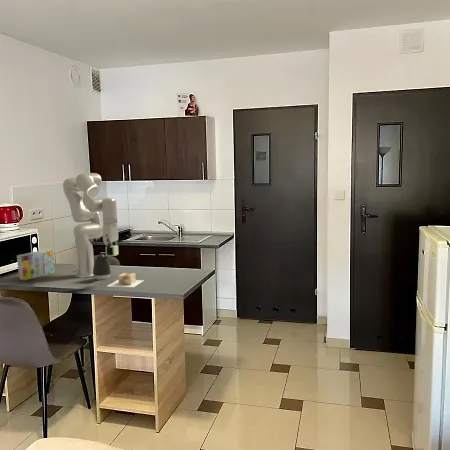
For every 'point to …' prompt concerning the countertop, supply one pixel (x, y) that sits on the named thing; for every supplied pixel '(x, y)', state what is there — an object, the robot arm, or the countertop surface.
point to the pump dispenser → (101, 267)
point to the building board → (116, 284)
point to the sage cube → (115, 250)
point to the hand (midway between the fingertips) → (112, 253)
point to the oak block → (127, 278)
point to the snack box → (35, 264)
